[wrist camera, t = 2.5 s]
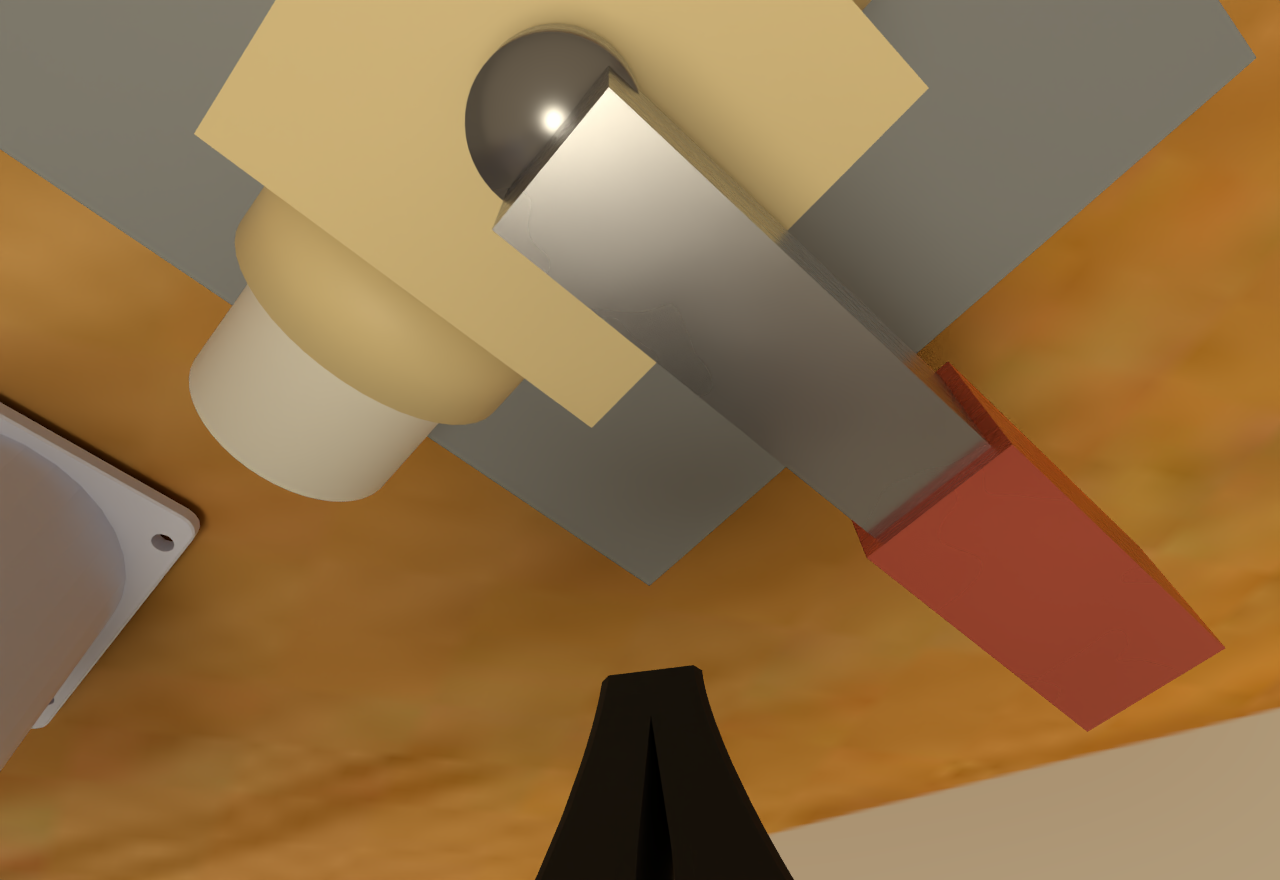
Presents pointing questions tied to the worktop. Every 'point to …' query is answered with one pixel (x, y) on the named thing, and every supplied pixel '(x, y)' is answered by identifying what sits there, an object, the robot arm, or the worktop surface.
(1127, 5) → the valve board
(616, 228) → the valve lever
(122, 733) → the worktop surface
